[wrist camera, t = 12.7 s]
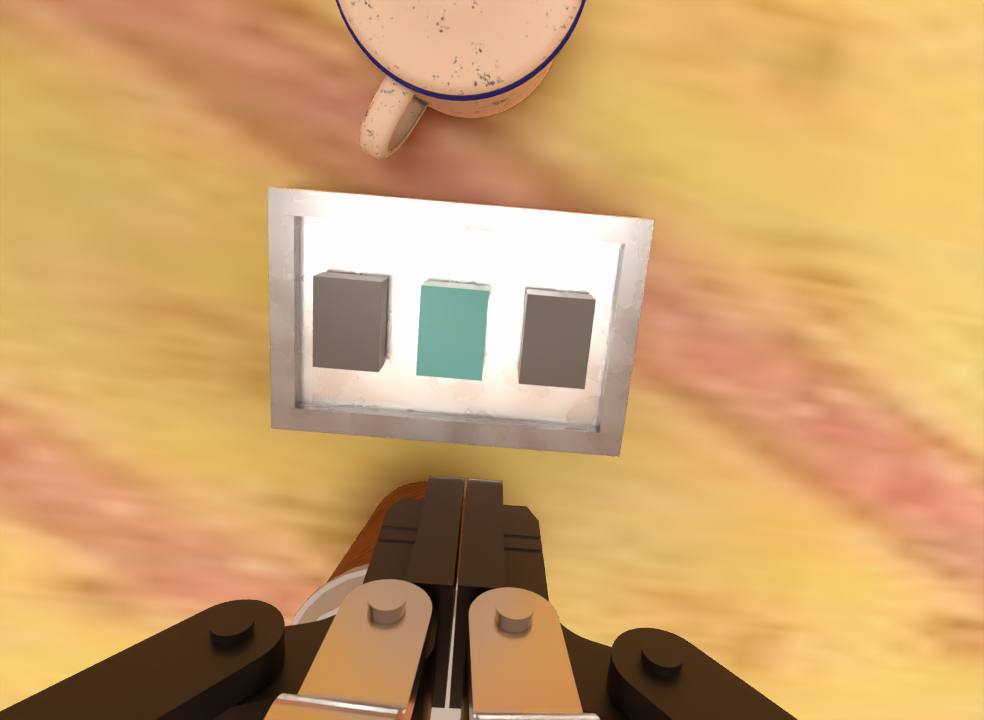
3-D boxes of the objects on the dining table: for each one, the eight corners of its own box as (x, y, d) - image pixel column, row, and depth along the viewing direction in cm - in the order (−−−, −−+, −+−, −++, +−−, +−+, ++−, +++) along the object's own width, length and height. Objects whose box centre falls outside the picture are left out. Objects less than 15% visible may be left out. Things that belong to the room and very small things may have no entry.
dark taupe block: (526, 288, 30) (527, 294, 29) (591, 294, 30) (596, 299, 29) (517, 374, 31) (518, 383, 30) (580, 379, 31) (584, 389, 30)
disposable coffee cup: (352, 445, 35) (279, 571, 24) (517, 467, 35) (525, 602, 24) (340, 588, 38) (269, 765, 26) (494, 607, 38) (492, 791, 26)
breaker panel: (288, 187, 31) (267, 187, 28) (640, 217, 32) (654, 219, 29) (290, 408, 35) (271, 428, 32) (609, 434, 35) (619, 456, 32)
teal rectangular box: (424, 280, 30) (420, 285, 29) (489, 285, 30) (489, 290, 29) (420, 366, 31) (415, 375, 30) (482, 371, 31) (481, 380, 30)
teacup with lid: (440, -134, 28) (399, -355, 16) (604, -10, 29) (672, -136, 18) (312, 107, 30) (202, 60, 19) (467, 211, 32) (450, 223, 20)
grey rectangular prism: (322, 271, 30) (312, 276, 29) (387, 277, 30) (381, 281, 29) (321, 358, 31) (312, 367, 30) (384, 363, 31) (378, 372, 30)
